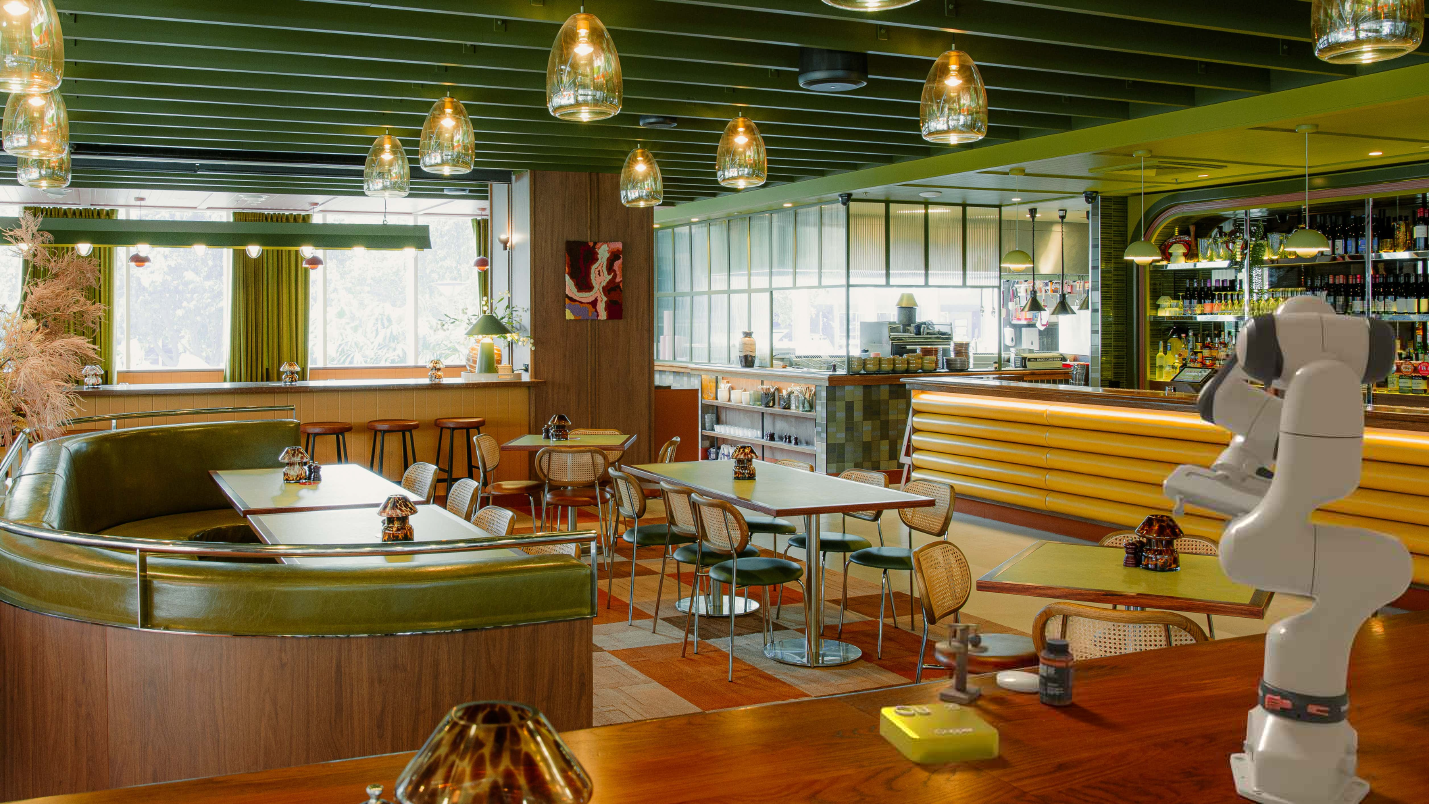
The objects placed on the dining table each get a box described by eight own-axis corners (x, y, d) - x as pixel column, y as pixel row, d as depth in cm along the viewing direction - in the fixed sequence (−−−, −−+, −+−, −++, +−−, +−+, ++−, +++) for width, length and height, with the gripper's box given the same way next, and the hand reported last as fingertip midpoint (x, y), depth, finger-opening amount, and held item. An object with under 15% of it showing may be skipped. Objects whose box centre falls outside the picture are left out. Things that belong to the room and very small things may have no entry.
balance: (955, 713, 190) (959, 629, 189) (928, 707, 193) (932, 624, 192) (990, 686, 206) (993, 608, 205) (964, 680, 209) (968, 604, 208)
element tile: (915, 767, 166) (916, 736, 166) (875, 732, 181) (876, 704, 181) (1002, 760, 170) (1004, 730, 170) (956, 726, 185) (958, 698, 185)
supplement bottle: (1068, 697, 201) (1071, 637, 200) (1075, 708, 195) (1078, 646, 194) (1034, 695, 201) (1038, 635, 201) (1041, 706, 196) (1044, 644, 195)
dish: (1037, 695, 201) (1038, 689, 201) (990, 685, 206) (990, 679, 206) (1051, 683, 209) (1051, 677, 209) (1004, 674, 214) (1005, 668, 214)
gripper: (1181, 449, 214) (1146, 493, 208) (1289, 478, 199) (1255, 526, 193) (1183, 473, 217) (1149, 517, 211) (1290, 503, 203) (1257, 551, 196)
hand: (1200, 521), depth 202 cm, fingers open, 8 cm apart
